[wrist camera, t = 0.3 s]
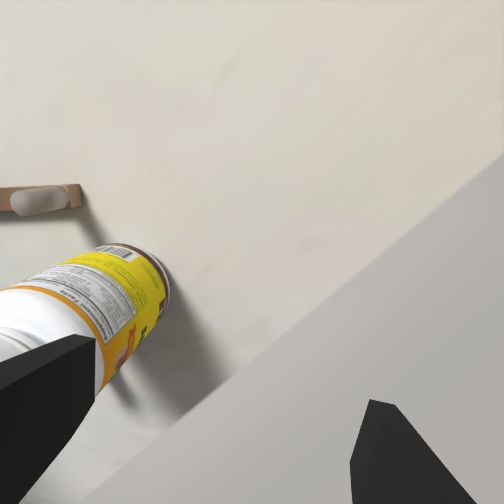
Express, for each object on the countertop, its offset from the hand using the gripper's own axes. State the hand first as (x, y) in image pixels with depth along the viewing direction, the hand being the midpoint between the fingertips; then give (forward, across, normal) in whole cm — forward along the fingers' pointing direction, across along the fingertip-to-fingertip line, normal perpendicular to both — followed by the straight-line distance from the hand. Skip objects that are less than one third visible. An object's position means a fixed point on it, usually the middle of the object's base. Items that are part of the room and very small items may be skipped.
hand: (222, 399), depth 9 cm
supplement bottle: (+11, +8, +3) cm, 13 cm away
